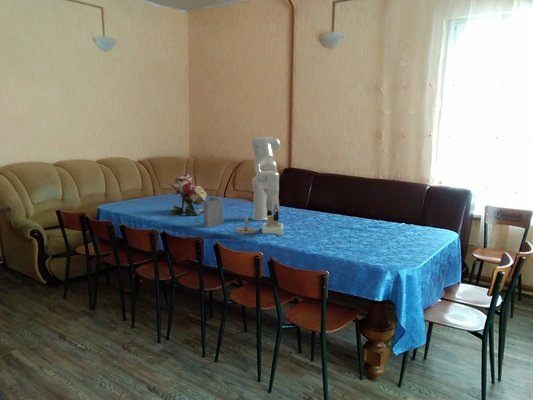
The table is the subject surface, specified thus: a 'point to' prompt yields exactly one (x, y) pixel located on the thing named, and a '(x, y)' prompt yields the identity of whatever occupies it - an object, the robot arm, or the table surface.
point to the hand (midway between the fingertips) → (272, 219)
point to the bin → (273, 229)
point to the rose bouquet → (187, 196)
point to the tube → (271, 222)
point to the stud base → (250, 230)
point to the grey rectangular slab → (213, 212)
